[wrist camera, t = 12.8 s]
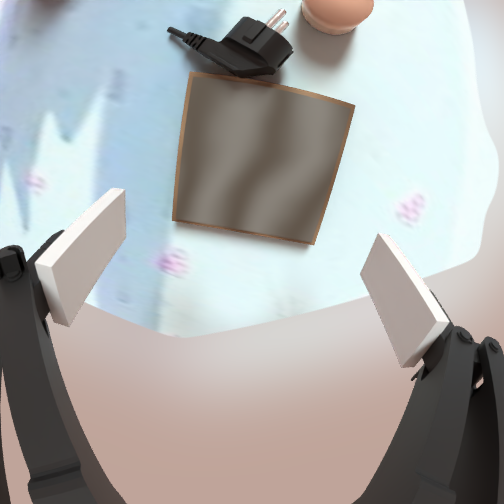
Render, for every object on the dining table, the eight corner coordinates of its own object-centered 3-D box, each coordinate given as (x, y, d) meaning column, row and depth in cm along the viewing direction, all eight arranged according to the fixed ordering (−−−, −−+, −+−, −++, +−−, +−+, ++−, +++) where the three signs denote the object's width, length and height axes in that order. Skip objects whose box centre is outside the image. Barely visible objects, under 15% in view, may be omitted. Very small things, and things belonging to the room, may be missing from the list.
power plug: (150, 26, 18) (252, 81, 19) (201, -30, 15) (311, 17, 16) (176, 43, 23) (265, 95, 24) (219, -5, 21) (312, 42, 21)
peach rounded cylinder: (336, 45, 22) (346, 35, 17) (289, 10, 20) (290, -6, 16) (370, 13, 19) (386, 1, 15) (325, -21, 17) (332, -40, 13)
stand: (176, 213, 32) (171, 222, 30) (194, 72, 24) (188, 71, 22) (311, 236, 33) (314, 247, 31) (349, 104, 25) (356, 105, 23)
